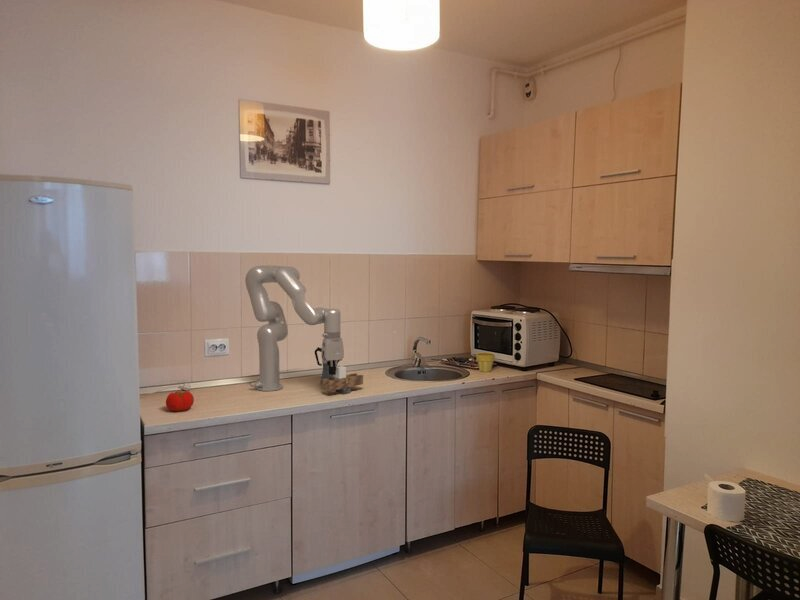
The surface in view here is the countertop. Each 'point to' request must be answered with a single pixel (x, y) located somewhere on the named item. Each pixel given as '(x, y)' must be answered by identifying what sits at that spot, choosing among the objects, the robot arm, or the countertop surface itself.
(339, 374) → the white block
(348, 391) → the beam
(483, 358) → the plant pot
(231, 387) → the countertop surface
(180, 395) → the tomato
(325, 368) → the moka pot
